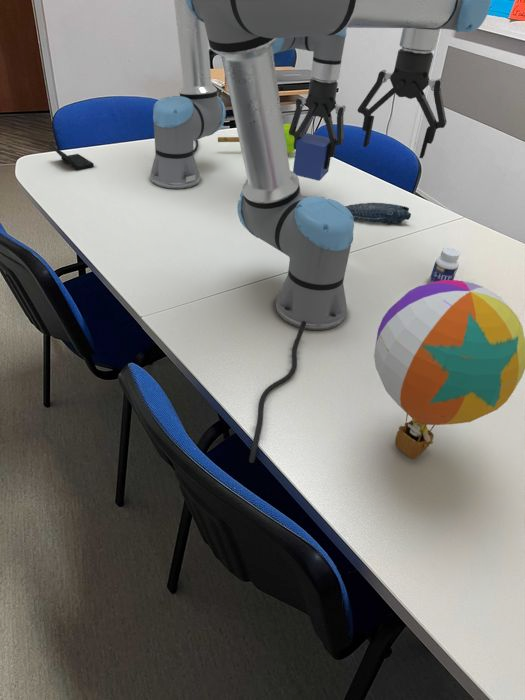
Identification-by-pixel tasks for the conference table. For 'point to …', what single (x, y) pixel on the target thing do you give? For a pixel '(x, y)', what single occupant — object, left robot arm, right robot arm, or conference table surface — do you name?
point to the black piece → (74, 160)
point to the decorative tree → (288, 139)
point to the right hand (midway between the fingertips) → (393, 151)
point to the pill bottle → (445, 265)
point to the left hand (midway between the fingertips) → (311, 163)
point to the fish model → (379, 212)
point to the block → (311, 156)
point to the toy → (448, 357)
